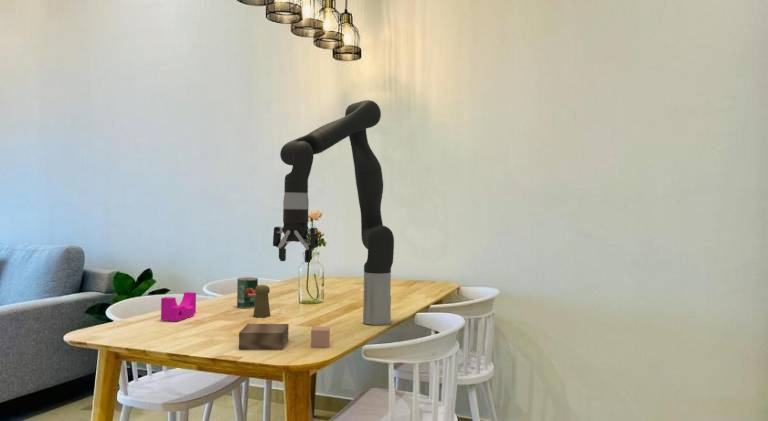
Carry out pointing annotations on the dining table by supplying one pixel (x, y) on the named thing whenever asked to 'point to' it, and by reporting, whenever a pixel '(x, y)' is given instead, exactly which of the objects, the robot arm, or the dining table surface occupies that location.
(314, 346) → the terracotta cube
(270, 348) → the walnut base block
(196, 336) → the dining table surface
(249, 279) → the canned tomato
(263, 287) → the cork
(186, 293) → the toy block
